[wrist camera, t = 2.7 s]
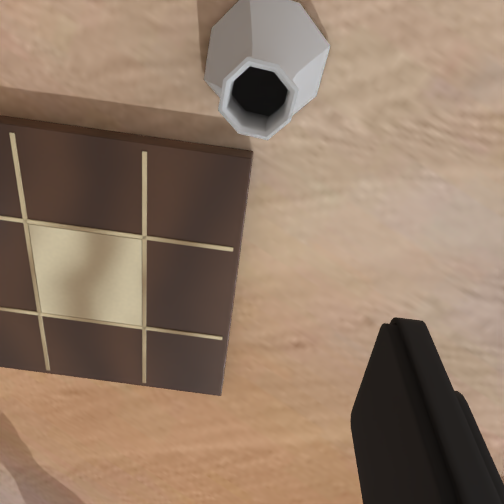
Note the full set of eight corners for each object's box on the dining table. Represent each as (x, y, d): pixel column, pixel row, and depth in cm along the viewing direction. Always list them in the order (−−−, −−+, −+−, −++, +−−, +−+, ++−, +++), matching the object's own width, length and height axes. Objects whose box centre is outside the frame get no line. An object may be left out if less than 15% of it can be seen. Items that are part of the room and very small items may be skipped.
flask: (184, 83, 28) (141, 129, 19) (243, -37, 24) (222, -46, 16) (284, 144, 29) (284, 211, 21) (352, 39, 26) (386, 68, 17)
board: (253, 150, 30) (252, 159, 28) (222, 383, 41) (220, 397, 40) (-82, 103, 29) (-100, 109, 28) (-19, 351, 41) (-30, 364, 39)
